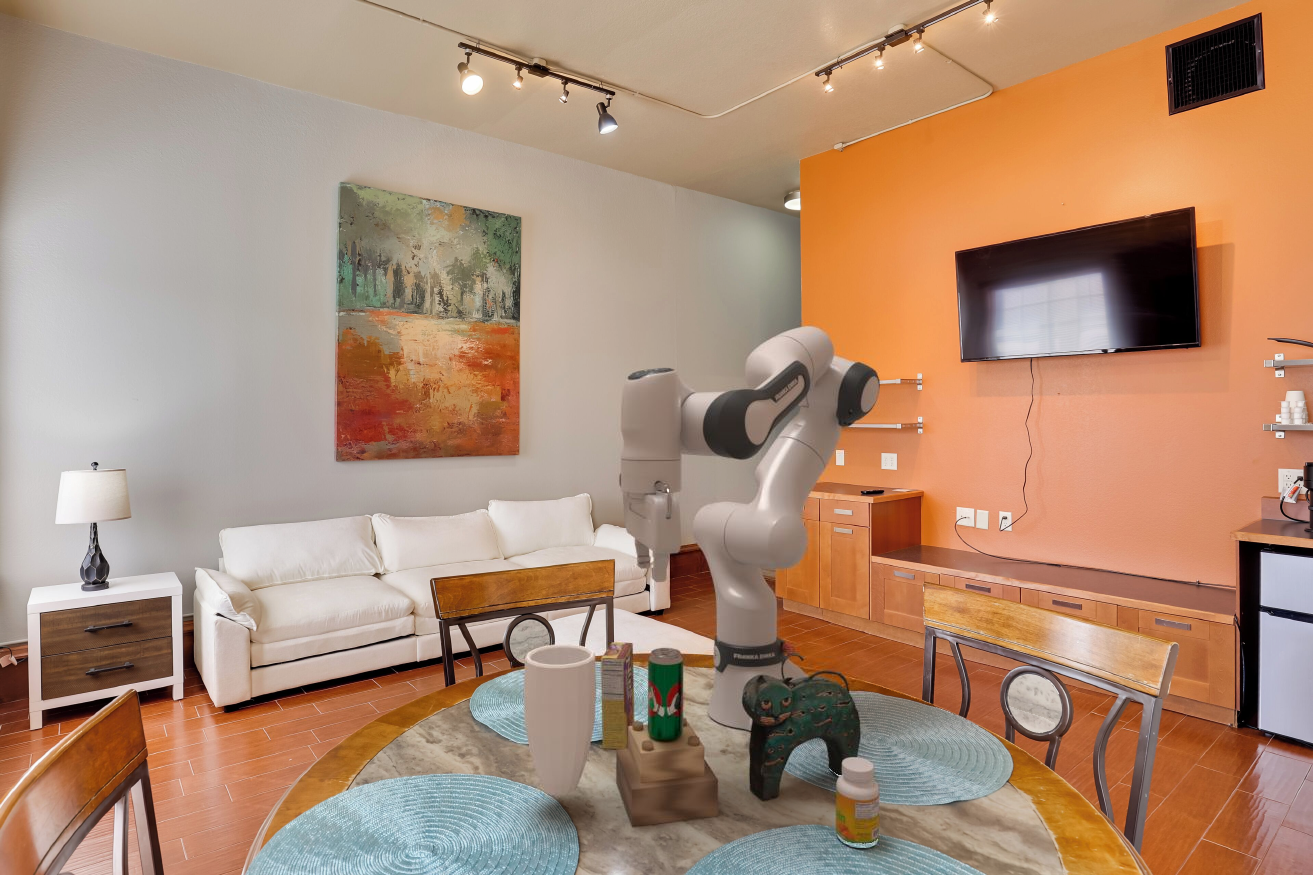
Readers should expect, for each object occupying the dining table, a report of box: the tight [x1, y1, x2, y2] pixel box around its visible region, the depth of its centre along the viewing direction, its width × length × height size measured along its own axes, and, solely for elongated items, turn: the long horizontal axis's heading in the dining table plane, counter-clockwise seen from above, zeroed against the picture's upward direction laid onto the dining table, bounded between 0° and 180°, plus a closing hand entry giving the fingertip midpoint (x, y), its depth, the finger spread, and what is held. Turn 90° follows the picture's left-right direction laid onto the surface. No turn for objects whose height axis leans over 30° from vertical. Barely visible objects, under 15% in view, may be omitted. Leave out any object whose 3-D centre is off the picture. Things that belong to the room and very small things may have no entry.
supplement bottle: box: [835, 756, 880, 844], centre depth 92 cm, size 5×5×10 cm
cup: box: [523, 643, 597, 796], centre depth 99 cm, size 10×10×22 cm
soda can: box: [647, 647, 684, 742], centre depth 102 cm, size 5×5×12 cm
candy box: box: [600, 641, 636, 750], centre depth 122 cm, size 9×4×15 cm, turn 172°
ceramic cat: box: [742, 652, 862, 802], centre depth 107 cm, size 20×6×20 cm, turn 115°
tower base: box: [615, 716, 719, 828], centre depth 102 cm, size 12×12×10 cm
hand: (651, 574), depth 104 cm, fingers open, 8 cm apart
